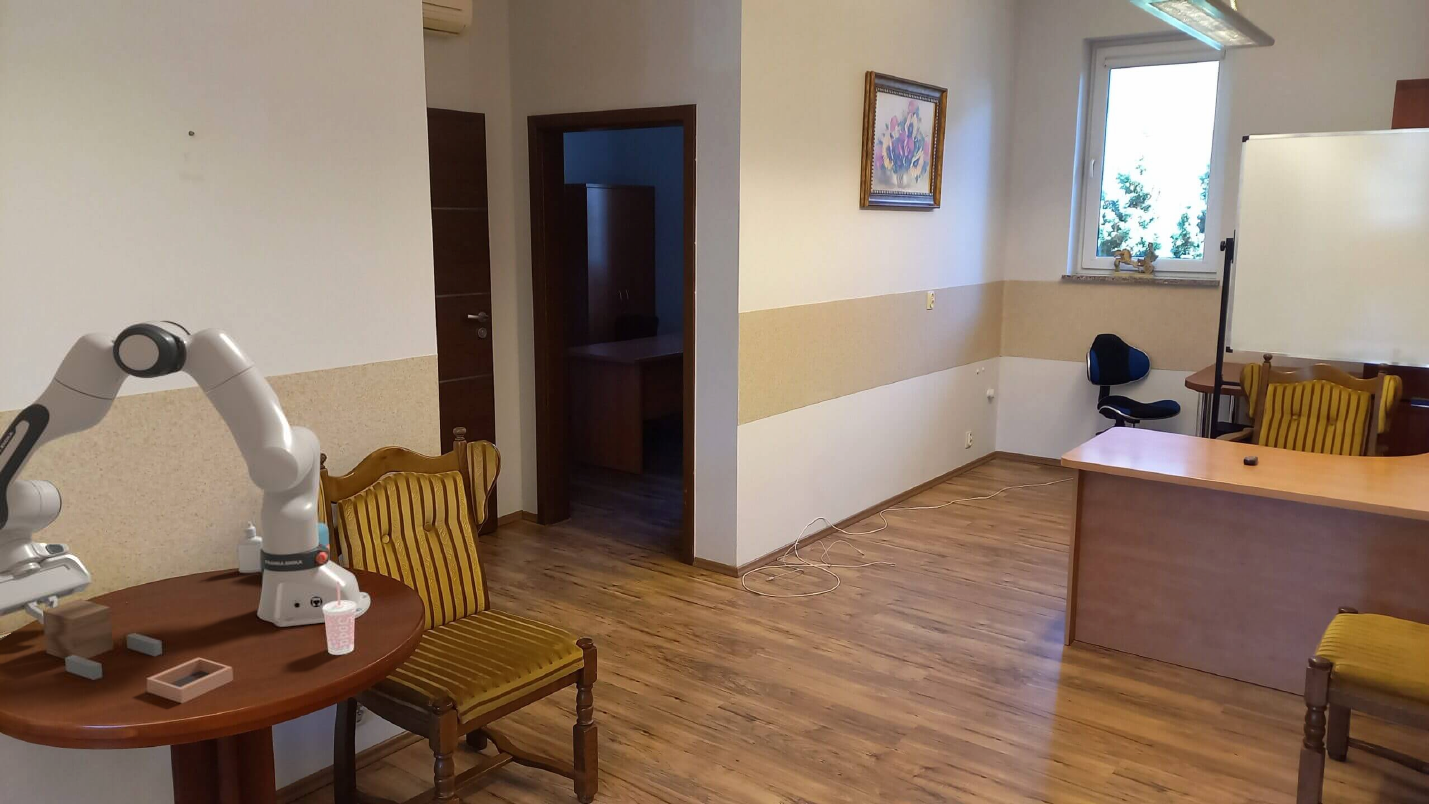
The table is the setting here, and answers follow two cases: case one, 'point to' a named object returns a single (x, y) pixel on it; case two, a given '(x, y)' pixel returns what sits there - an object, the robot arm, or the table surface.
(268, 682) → the table surface
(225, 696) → the table surface
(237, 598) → the table surface
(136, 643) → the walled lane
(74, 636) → the walnut block
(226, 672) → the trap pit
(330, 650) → the beverage cup
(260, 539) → the eye dropper bottle
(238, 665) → the table surface
